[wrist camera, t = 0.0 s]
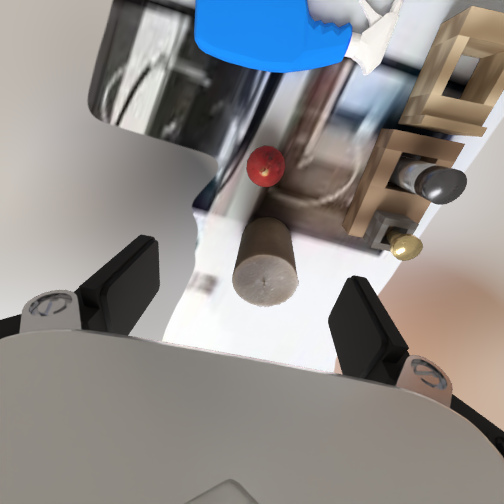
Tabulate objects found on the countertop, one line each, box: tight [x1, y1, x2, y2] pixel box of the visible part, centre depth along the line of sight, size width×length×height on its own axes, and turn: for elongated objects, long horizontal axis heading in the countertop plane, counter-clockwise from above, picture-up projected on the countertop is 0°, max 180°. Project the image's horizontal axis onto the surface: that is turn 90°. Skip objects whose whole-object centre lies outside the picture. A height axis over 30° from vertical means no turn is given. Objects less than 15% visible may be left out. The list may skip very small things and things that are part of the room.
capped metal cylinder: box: [389, 156, 467, 204], centre depth 32 cm, size 4×4×12 cm
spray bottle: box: [194, 0, 403, 76], centre depth 29 cm, size 3×11×24 cm
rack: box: [398, 6, 504, 137], centre depth 28 cm, size 11×8×6 cm
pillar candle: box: [232, 217, 299, 307], centre depth 38 cm, size 10×10×15 cm
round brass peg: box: [386, 230, 423, 261], centre depth 33 cm, size 4×4×4 cm
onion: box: [246, 146, 285, 187], centre depth 34 cm, size 6×6×8 cm
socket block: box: [342, 129, 465, 251], centre depth 35 cm, size 16×10×8 cm, turn 170°
